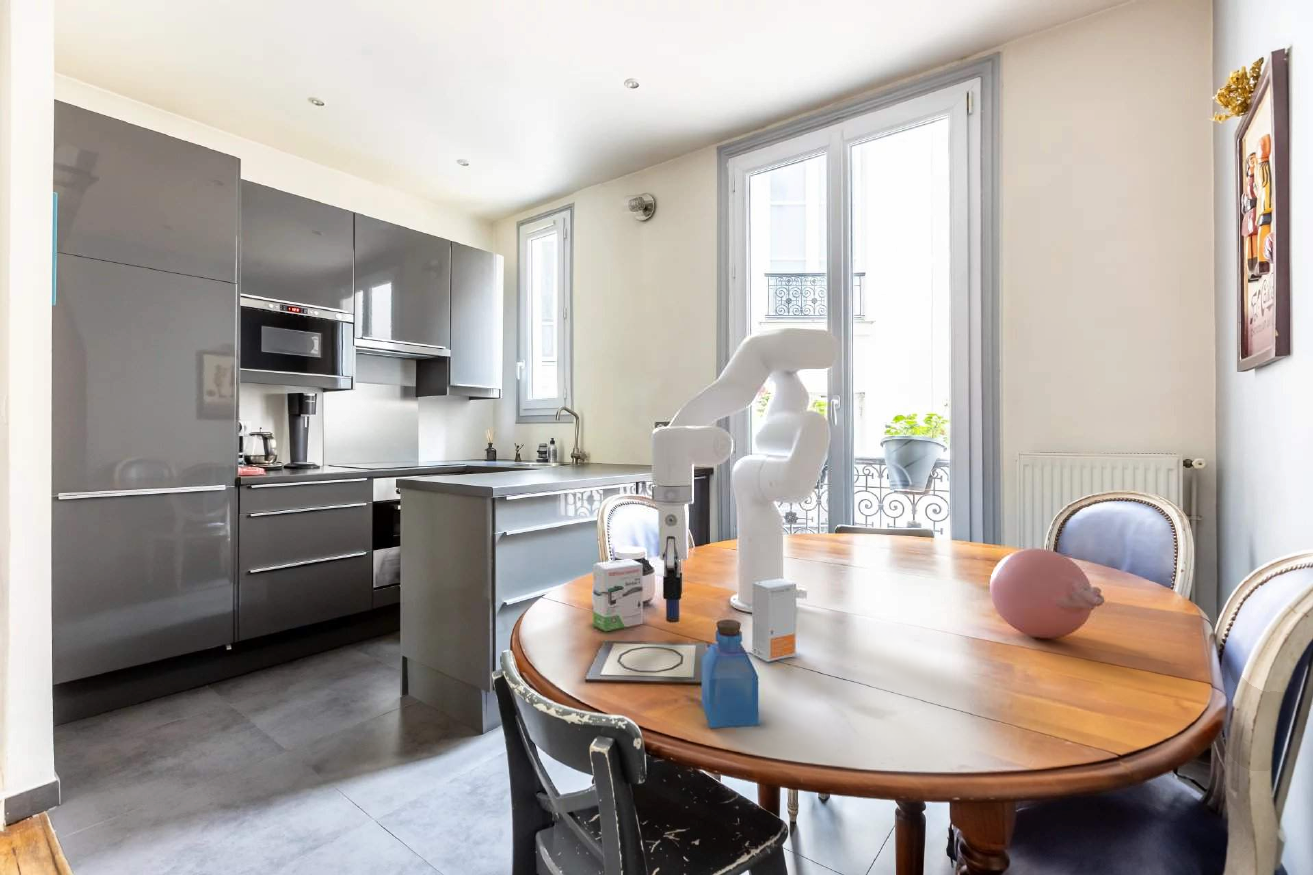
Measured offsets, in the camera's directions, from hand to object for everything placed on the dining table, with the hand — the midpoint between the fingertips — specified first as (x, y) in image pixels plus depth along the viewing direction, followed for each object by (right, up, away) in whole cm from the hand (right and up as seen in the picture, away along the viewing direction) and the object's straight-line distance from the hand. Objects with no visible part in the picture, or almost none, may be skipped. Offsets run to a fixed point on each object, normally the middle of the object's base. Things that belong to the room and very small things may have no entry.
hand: (672, 595), depth 109 cm
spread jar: (-10, -7, +18) cm, 22 cm away
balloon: (+65, -7, -5) cm, 66 cm away
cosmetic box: (+16, -7, -10) cm, 21 cm away
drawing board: (-4, -7, -12) cm, 15 cm away
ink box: (-10, -7, +6) cm, 14 cm away
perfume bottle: (+7, -8, -30) cm, 32 cm away
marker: (0, -5, 0) cm, 5 cm away
